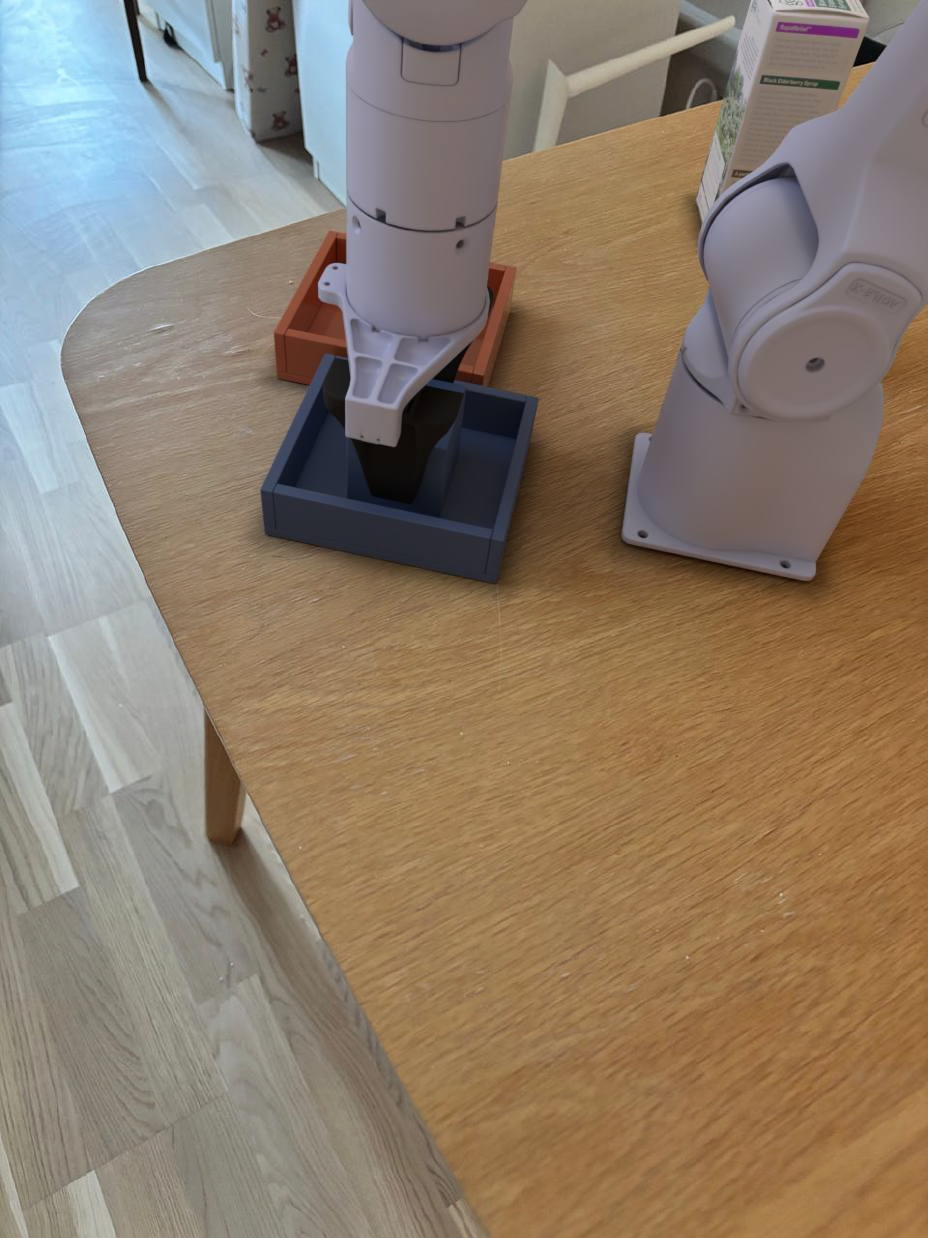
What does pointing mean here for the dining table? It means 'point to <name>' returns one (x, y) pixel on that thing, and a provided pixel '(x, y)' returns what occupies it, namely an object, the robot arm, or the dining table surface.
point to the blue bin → (454, 543)
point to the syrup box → (779, 83)
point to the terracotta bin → (321, 329)
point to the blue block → (435, 473)
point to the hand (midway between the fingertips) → (405, 457)
